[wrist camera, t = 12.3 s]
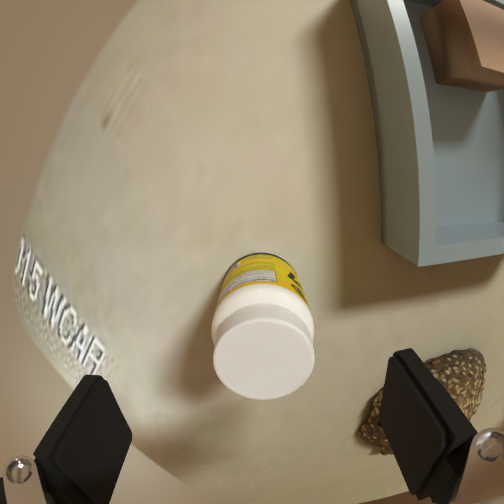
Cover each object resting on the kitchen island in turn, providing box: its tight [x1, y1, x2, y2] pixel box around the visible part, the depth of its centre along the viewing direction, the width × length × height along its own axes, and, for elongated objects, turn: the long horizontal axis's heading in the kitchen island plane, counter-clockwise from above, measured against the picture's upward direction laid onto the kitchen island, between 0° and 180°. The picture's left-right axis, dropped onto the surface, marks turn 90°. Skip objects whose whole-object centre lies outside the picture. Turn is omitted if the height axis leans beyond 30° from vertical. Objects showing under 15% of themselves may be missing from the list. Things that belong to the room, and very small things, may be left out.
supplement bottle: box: [211, 251, 315, 400], centre depth 15 cm, size 5×5×8 cm
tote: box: [351, 0, 504, 267], centre depth 13 cm, size 18×14×5 cm
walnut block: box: [419, 0, 504, 92], centre depth 11 cm, size 5×5×5 cm
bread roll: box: [359, 348, 486, 455], centre depth 20 cm, size 13×12×5 cm
